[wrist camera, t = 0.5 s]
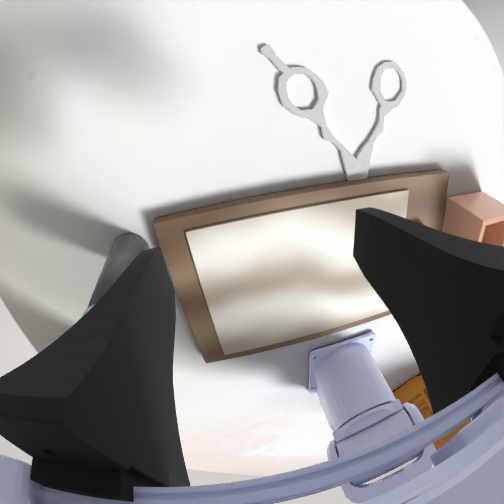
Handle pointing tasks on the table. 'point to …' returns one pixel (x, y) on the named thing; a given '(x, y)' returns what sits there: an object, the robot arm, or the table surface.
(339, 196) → the clipboard
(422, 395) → the coffee package
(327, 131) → the scissors
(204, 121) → the table surface
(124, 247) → the marker
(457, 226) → the pen cup
